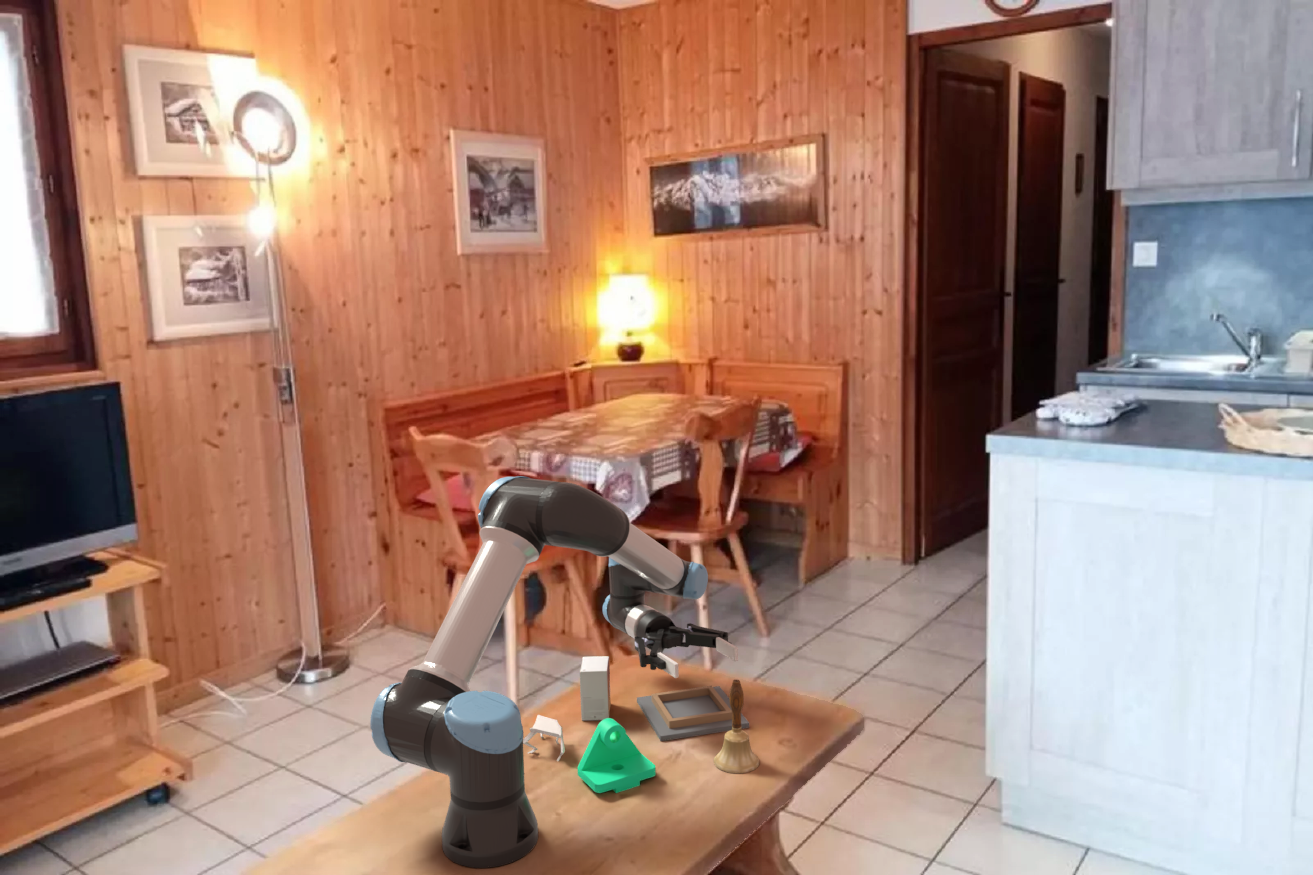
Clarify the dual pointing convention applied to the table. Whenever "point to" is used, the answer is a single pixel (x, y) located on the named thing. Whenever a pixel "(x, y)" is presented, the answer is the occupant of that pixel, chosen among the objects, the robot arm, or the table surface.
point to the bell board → (689, 712)
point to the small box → (595, 688)
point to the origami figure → (545, 732)
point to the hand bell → (736, 739)
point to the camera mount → (613, 760)
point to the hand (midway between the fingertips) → (707, 662)
